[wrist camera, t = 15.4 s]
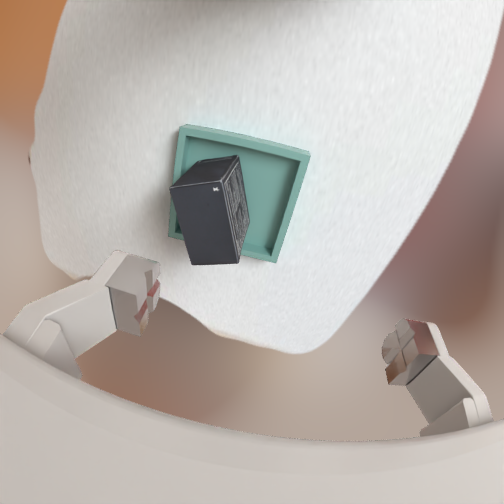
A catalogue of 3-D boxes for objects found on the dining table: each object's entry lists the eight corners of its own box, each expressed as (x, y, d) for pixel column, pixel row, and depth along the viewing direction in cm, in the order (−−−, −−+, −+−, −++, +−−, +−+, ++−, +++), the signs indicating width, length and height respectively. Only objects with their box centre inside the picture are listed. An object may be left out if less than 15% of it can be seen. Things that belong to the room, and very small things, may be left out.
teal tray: (186, 124, 35) (179, 126, 33) (308, 151, 35) (310, 156, 33) (173, 228, 44) (168, 236, 42) (276, 253, 45) (275, 263, 43)
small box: (193, 160, 37) (165, 186, 28) (239, 153, 36) (223, 178, 27) (209, 226, 43) (189, 267, 34) (251, 223, 42) (241, 264, 33)
